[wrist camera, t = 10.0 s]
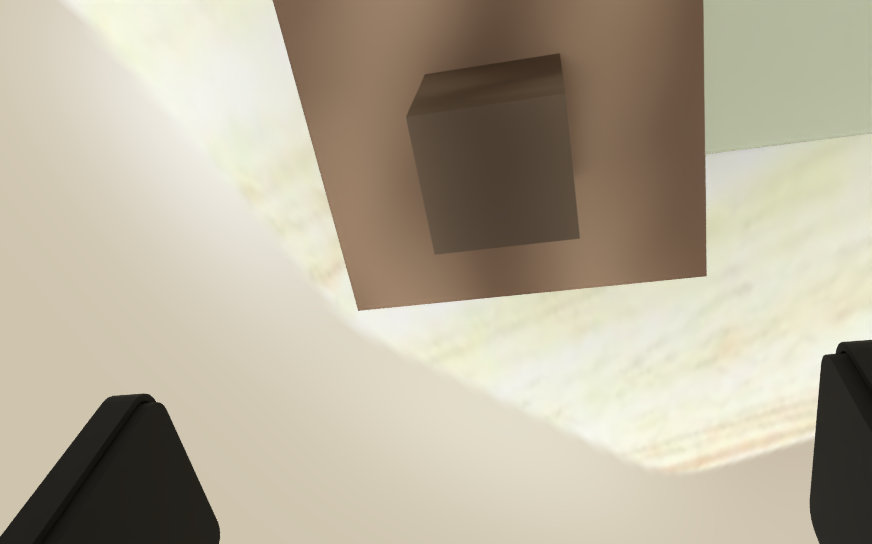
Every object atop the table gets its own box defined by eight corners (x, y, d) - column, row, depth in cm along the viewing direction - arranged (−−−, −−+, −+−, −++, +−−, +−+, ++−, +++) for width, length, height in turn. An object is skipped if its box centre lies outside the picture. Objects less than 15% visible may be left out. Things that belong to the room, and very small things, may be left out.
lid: (694, -131, 20) (739, -122, 16) (700, 261, 26) (735, 346, 21) (271, -48, 22) (209, -21, 18) (363, 295, 28) (333, 380, 24)
